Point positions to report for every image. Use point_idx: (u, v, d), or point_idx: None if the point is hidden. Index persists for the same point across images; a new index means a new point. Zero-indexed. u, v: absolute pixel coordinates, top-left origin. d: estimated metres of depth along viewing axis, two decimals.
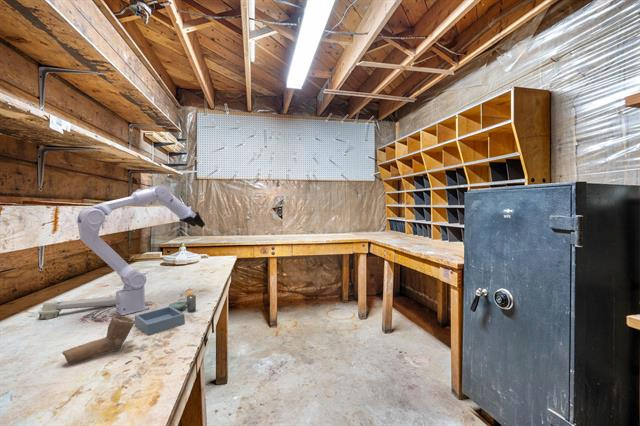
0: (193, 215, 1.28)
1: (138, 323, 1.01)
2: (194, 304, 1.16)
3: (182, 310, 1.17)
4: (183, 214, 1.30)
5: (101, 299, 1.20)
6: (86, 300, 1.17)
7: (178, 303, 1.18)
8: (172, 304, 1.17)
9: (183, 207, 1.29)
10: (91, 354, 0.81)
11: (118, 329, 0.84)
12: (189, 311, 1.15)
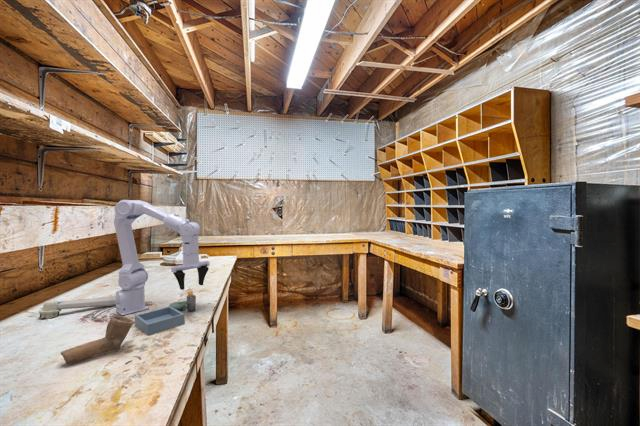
0: (172, 270, 1.11)
1: (138, 323, 1.01)
2: (194, 304, 1.16)
3: (182, 310, 1.17)
4: (183, 262, 1.15)
5: (101, 299, 1.20)
6: (86, 300, 1.17)
7: (178, 303, 1.18)
8: (172, 304, 1.17)
9: (185, 258, 1.13)
10: (90, 354, 0.81)
11: (117, 329, 0.84)
12: (189, 311, 1.15)
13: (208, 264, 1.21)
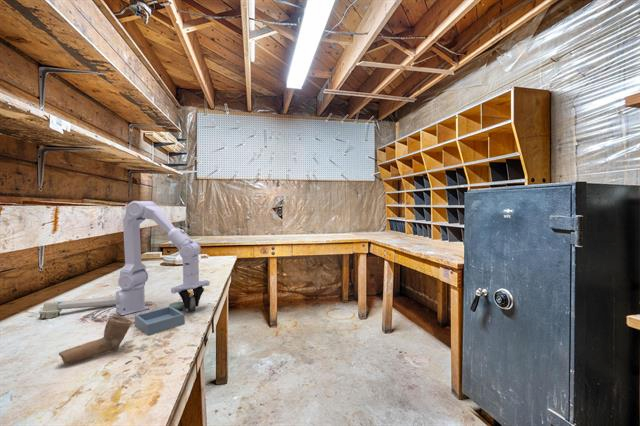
0: (171, 291, 1.11)
1: (138, 323, 1.01)
2: (194, 304, 1.16)
3: (182, 310, 1.17)
4: (183, 282, 1.15)
5: (101, 299, 1.20)
6: (87, 300, 1.17)
7: (178, 303, 1.18)
8: (172, 304, 1.17)
9: (185, 278, 1.13)
10: (88, 355, 0.80)
11: (115, 330, 0.84)
12: (189, 311, 1.15)
13: (208, 284, 1.21)
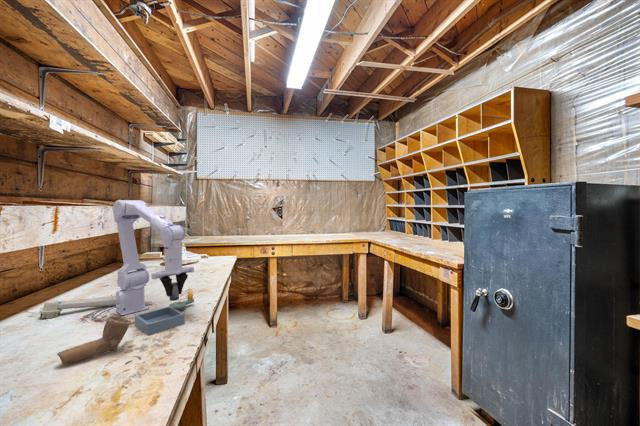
0: (152, 276, 1.03)
1: (138, 323, 1.01)
2: (177, 292, 1.09)
3: (182, 310, 1.17)
4: (165, 268, 1.08)
5: (102, 299, 1.20)
6: (87, 300, 1.17)
7: (178, 303, 1.18)
8: (172, 304, 1.17)
9: (167, 264, 1.06)
10: (87, 355, 0.80)
11: (114, 330, 0.84)
12: (171, 299, 1.08)
13: (192, 270, 1.13)
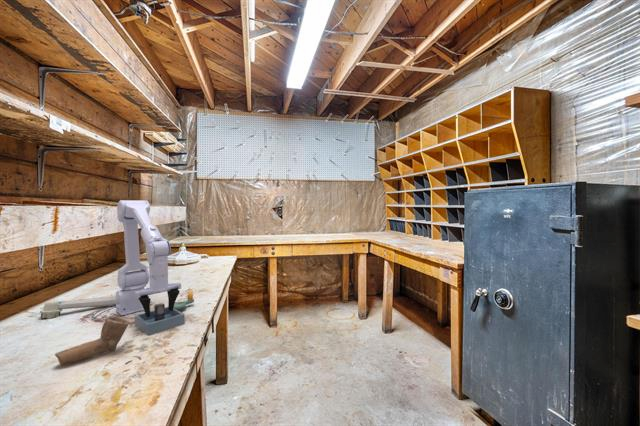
0: (135, 295, 0.98)
1: (138, 323, 1.01)
2: (162, 314, 1.03)
3: (182, 310, 1.17)
4: None
5: (102, 299, 1.20)
6: (87, 300, 1.17)
7: (178, 303, 1.18)
8: None
9: (151, 281, 1.01)
10: (85, 356, 0.80)
11: (112, 330, 0.83)
12: None
13: (179, 287, 1.08)
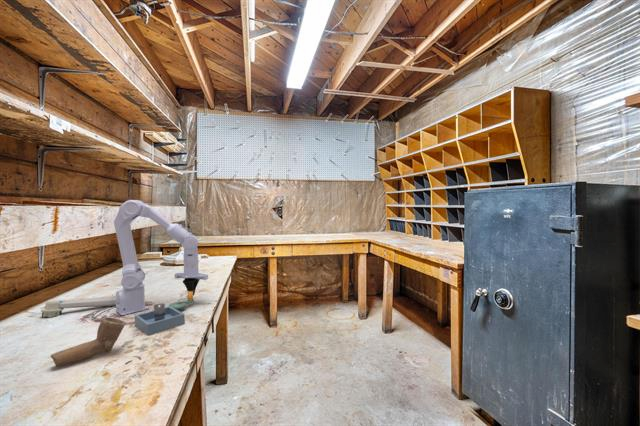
0: None
1: (138, 323, 1.01)
2: (162, 314, 1.03)
3: (182, 310, 1.17)
4: None
5: (103, 299, 1.20)
6: (88, 299, 1.17)
7: (178, 303, 1.18)
8: (172, 304, 1.17)
9: None
10: (81, 357, 0.79)
11: (108, 331, 0.83)
12: None
13: (204, 278, 1.23)
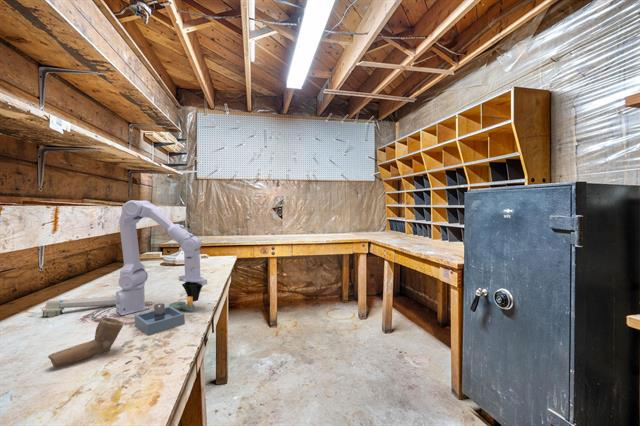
0: None
1: (138, 323, 1.01)
2: (162, 314, 1.03)
3: (182, 310, 1.17)
4: None
5: (103, 299, 1.20)
6: (88, 299, 1.18)
7: (178, 304, 1.17)
8: (177, 302, 1.19)
9: None
10: (78, 357, 0.79)
11: (107, 331, 0.83)
12: None
13: (202, 283, 1.14)
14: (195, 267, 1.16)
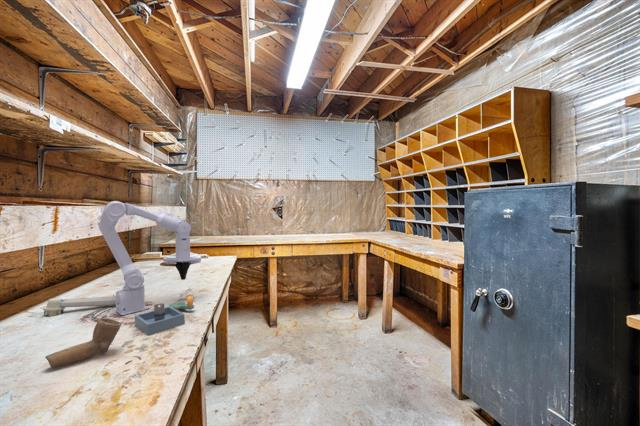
0: None
1: (138, 323, 1.01)
2: (162, 314, 1.03)
3: (182, 310, 1.17)
4: None
5: (103, 299, 1.20)
6: (88, 299, 1.18)
7: (178, 304, 1.17)
8: (177, 302, 1.19)
9: None
10: (76, 358, 0.79)
11: (104, 332, 0.82)
12: None
13: (198, 261, 1.28)
14: (188, 248, 1.28)
